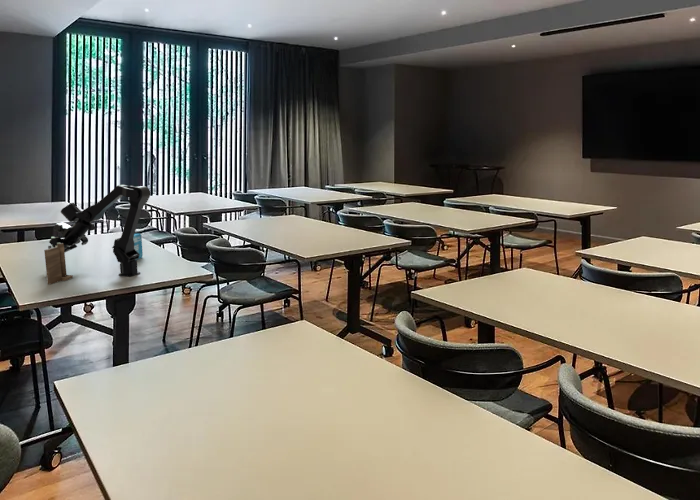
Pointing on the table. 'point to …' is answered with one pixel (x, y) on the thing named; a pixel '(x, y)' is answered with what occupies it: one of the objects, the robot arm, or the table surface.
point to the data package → (138, 244)
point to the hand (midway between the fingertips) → (58, 254)
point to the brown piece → (56, 264)
